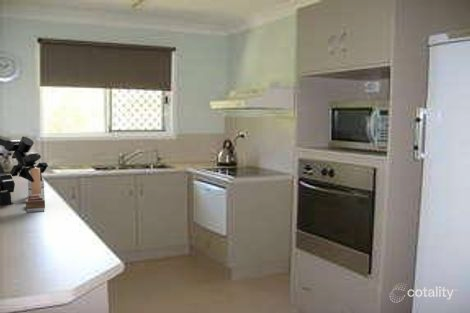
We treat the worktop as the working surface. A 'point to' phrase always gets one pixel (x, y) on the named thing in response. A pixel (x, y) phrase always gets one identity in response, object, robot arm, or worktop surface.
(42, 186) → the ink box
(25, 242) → the worktop surface
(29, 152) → the skyscraper
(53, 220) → the worktop surface
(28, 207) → the socket block
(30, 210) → the mat
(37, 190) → the peg
